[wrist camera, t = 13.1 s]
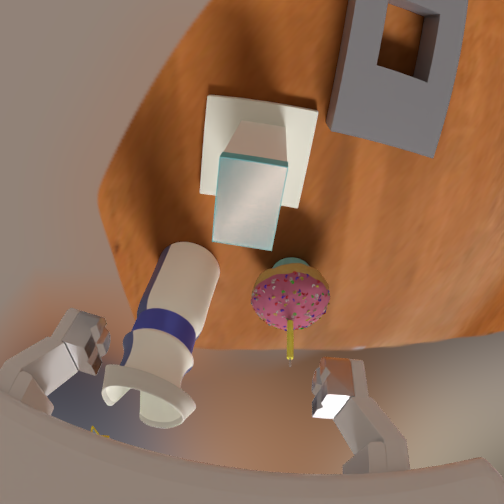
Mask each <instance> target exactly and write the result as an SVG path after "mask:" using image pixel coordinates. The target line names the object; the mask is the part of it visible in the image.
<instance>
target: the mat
mask: <svg viewBox="0 0 504 504" xmlns="http://www.w3.org/2000/svg"><path fill="white" fill-rule="evenodd" d="M317 117H318V111H317V110H313V109H308V108H303V107H298V106H292V105H287V104H281V103H274V102H268V101H261V100H254V99H247V98H239V97H230V96H221V95H208V96H207V106H206V117H205V128H204V140H203V153H202V166H201V181H200V193H201V194H209V195H216V188H217V178H218V167H219V157H220V155H221V153H222V152H224V150H225V148H226V147H227V145H228V143H229V141H230V140H231V138H232V136H233V134H234V133H235V131H236V129H237V128H238V126H239V124H240V122H241V121H242V120H243V121H250V122H257V123H264V124H270V125H276V126H282V127H286V146H287V162H288V172H287V177H286V182H285V187H284V192H283V197H282V202H281V206H287V207H292V208H298V206H299V201H300V197H301V192H302V188H303V183H304V179H305V174H306V169H307V165H308V160H309V155H310V151H311V146H312V141H313V136H314V131H315V127H316V122H317Z"/></svg>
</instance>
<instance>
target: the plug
mask: <svg viewBox="0 0 504 504" xmlns="http://www.w3.org/2000/svg"><path fill="white" fill-rule="evenodd" d="M287 172H288V162H287V146H286V127H282V126H276V125H270V124H264V123H257V122H250V121H243V120H242V121H241V122H240V124H239V126H238V128H237V129H236V131H235V133H234V134H233V136H232V138H231V140H230V141H229V143H228V145H227V147H226V148H225V150H224V152H222V153H221V155H220V157H219V167H218V178H217V188H216V199H215V211H214V223H213V236H212V242H219V243H225V244H231V245H237V246H244V247H250V248H256V249H262V250H269V251H272V247H273V242H274V237H275V232H276V227H277V222H278V217H279V212H280V207H281V202H282V197H283V192H284V187H285V182H286V177H287Z"/></svg>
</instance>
